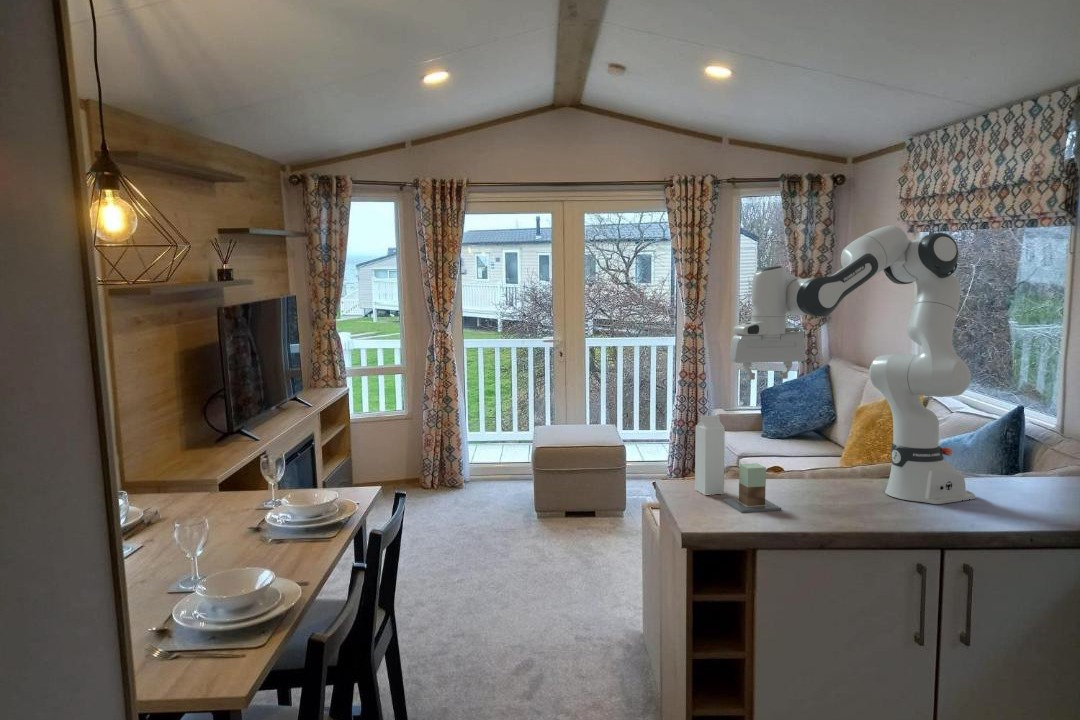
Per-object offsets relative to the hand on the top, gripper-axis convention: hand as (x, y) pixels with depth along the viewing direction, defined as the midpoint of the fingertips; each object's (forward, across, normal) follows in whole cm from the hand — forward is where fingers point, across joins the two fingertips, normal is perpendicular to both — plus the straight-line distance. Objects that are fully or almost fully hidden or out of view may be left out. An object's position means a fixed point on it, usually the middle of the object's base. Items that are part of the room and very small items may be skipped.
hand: (767, 379), depth 194 cm
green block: (+27, +6, +4) cm, 28 cm away
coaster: (+33, +6, +4) cm, 34 cm away
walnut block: (+32, +6, +4) cm, 33 cm away
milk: (+33, +12, -11) cm, 37 cm away
